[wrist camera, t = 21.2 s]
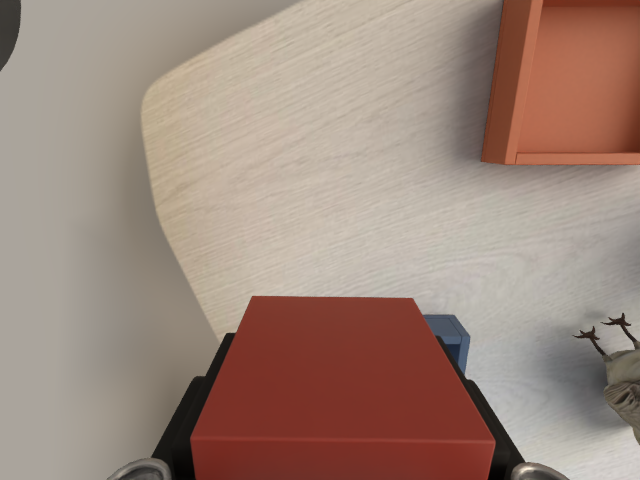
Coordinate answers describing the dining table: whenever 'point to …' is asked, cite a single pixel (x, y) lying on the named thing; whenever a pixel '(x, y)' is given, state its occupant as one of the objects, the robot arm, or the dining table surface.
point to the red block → (338, 398)
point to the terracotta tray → (566, 84)
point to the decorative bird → (622, 378)
